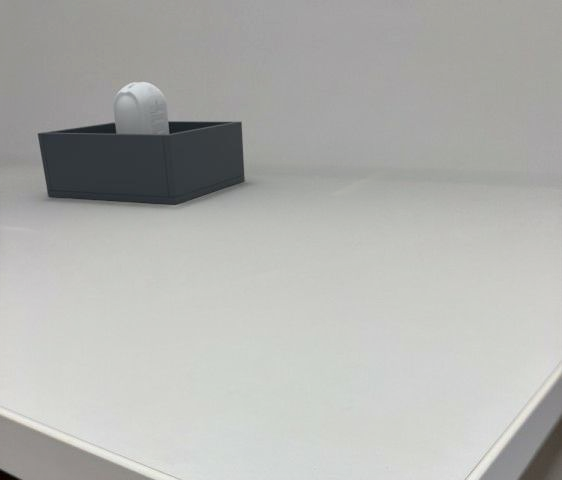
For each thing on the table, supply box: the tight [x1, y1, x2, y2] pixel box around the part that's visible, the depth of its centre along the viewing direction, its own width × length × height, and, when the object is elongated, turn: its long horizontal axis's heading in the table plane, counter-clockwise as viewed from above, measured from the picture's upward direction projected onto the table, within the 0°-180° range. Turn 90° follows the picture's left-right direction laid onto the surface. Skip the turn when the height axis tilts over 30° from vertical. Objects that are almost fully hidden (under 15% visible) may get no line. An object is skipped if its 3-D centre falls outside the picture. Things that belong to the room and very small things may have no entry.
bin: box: [37, 120, 246, 206], centre depth 91 cm, size 20×18×8 cm
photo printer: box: [113, 81, 169, 135], centre depth 89 cm, size 10×4×12 cm, turn 168°
